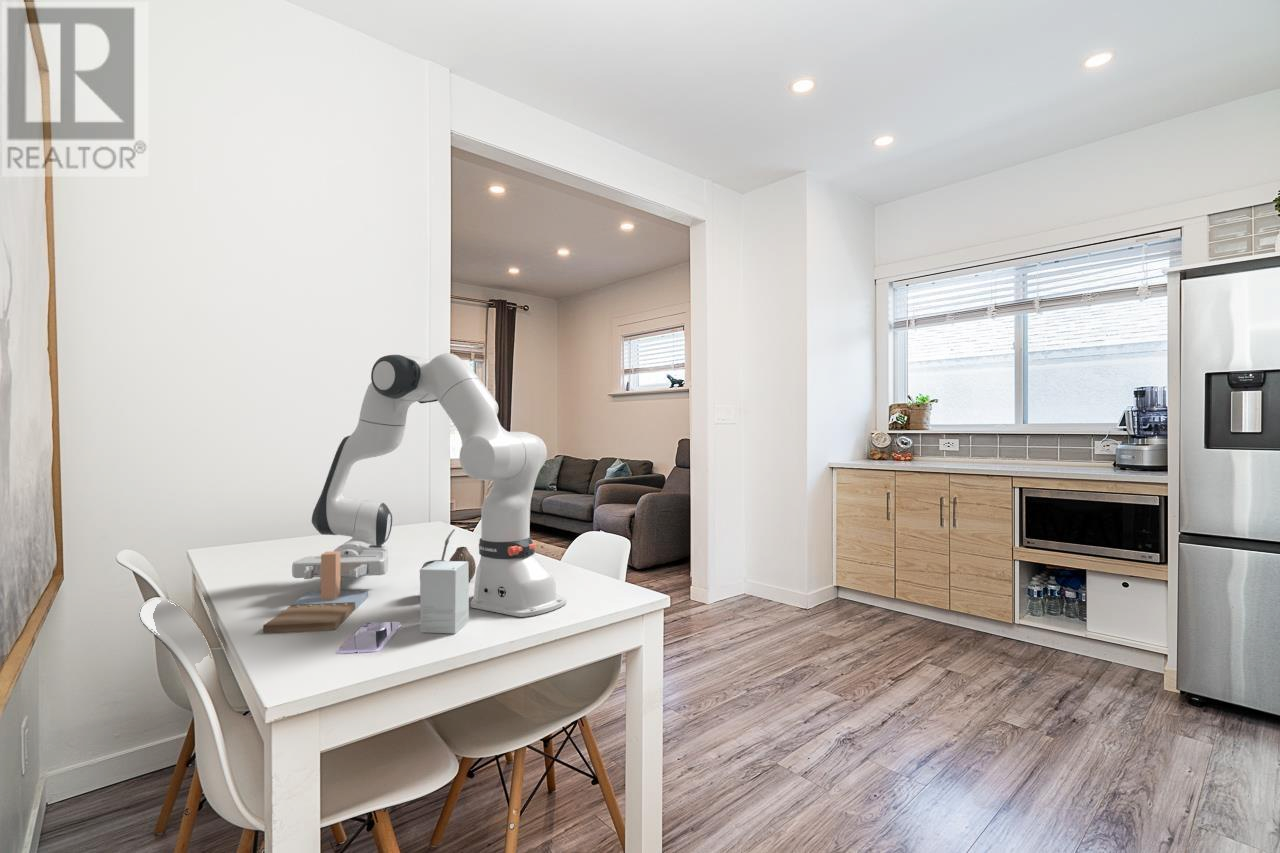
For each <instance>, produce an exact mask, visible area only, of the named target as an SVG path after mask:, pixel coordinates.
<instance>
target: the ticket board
mask: <svg viewBox="0 0 1280 853" xmlns="http://www.w3.org/2000/svg"><path fill="white" fill-rule="evenodd" d="M354 610H355V611H356V609H355V604H347V603H345V604H330V605H323V604H321V605H304V606H300V605H297V606H291V605H290V606H289V607H287V608H286V609H284V610H283V611H281V612H280V613H279V614H277V615H276V616H274V617H272V619H270V620H269V621H268V622H266V623H264V624H263V625H262V626H263V628H262V630H263V631H262V632H263V634H270V633H271V634H273V633H276V634H277V633H291V632H293V633H294V632H317V631H319V632H320V631H335V630H336V629H337V628H339V627H340V625H341V624H342V623H343V622H344V621H346V619H348V618H349V617H350V616H351V615H352V614H351V613H352V612H353V611H354ZM355 611H354V612H355ZM354 612H353V613H354ZM350 614H351V615H350ZM349 615H350V616H349ZM348 616H349V617H348Z"/></svg>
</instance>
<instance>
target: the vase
mask: <svg viewBox="0 0 1280 853" xmlns="http://www.w3.org/2000/svg"><path fill="white" fill-rule="evenodd" d="M448 561H468V570H469V582H470V581H472V579H473V578H474V577H475V575H476V570H477V568H476V560H475V558H474V556H473V555H472V554H471V552H470V551H469V549H468V547H466V546H459V547H457V548H456V549H455V551H454V553H452V555H451V557H450V558H449V560H448Z"/></svg>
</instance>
